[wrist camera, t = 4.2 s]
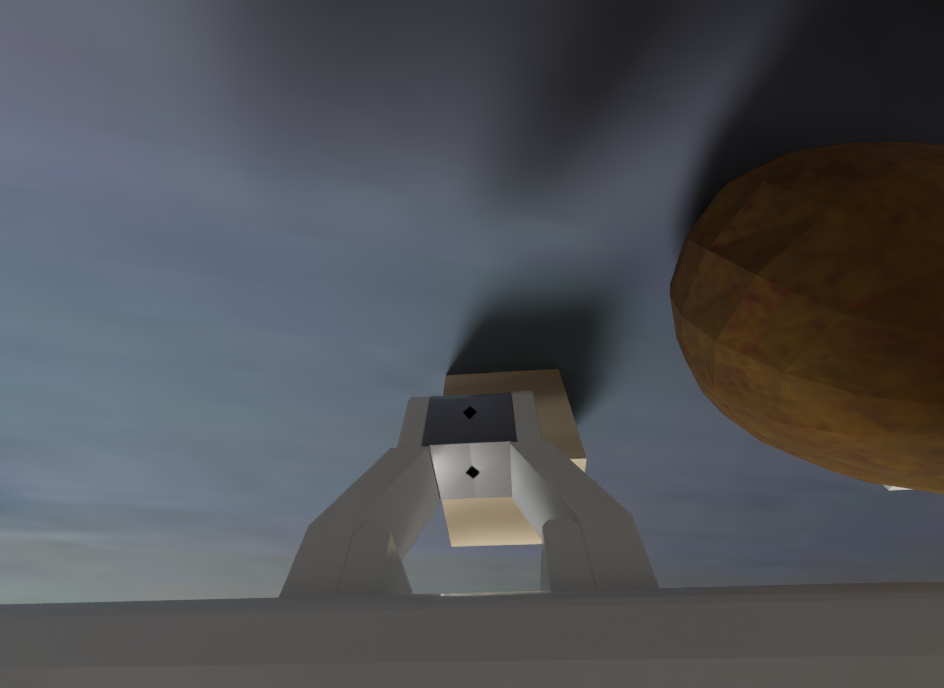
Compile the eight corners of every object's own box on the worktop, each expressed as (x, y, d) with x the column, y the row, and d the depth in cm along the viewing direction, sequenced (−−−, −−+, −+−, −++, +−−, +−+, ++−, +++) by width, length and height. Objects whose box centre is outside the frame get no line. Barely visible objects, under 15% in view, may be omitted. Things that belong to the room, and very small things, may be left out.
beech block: (445, 374, 16) (434, 465, 12) (558, 367, 16) (586, 458, 12) (457, 450, 19) (451, 546, 15) (554, 445, 19) (575, 542, 15)
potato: (783, 410, 17) (1013, 635, 10) (579, 300, 14) (687, 502, 7) (991, 257, 13) (1649, 445, 6) (765, 60, 10) (1509, -72, 3)
